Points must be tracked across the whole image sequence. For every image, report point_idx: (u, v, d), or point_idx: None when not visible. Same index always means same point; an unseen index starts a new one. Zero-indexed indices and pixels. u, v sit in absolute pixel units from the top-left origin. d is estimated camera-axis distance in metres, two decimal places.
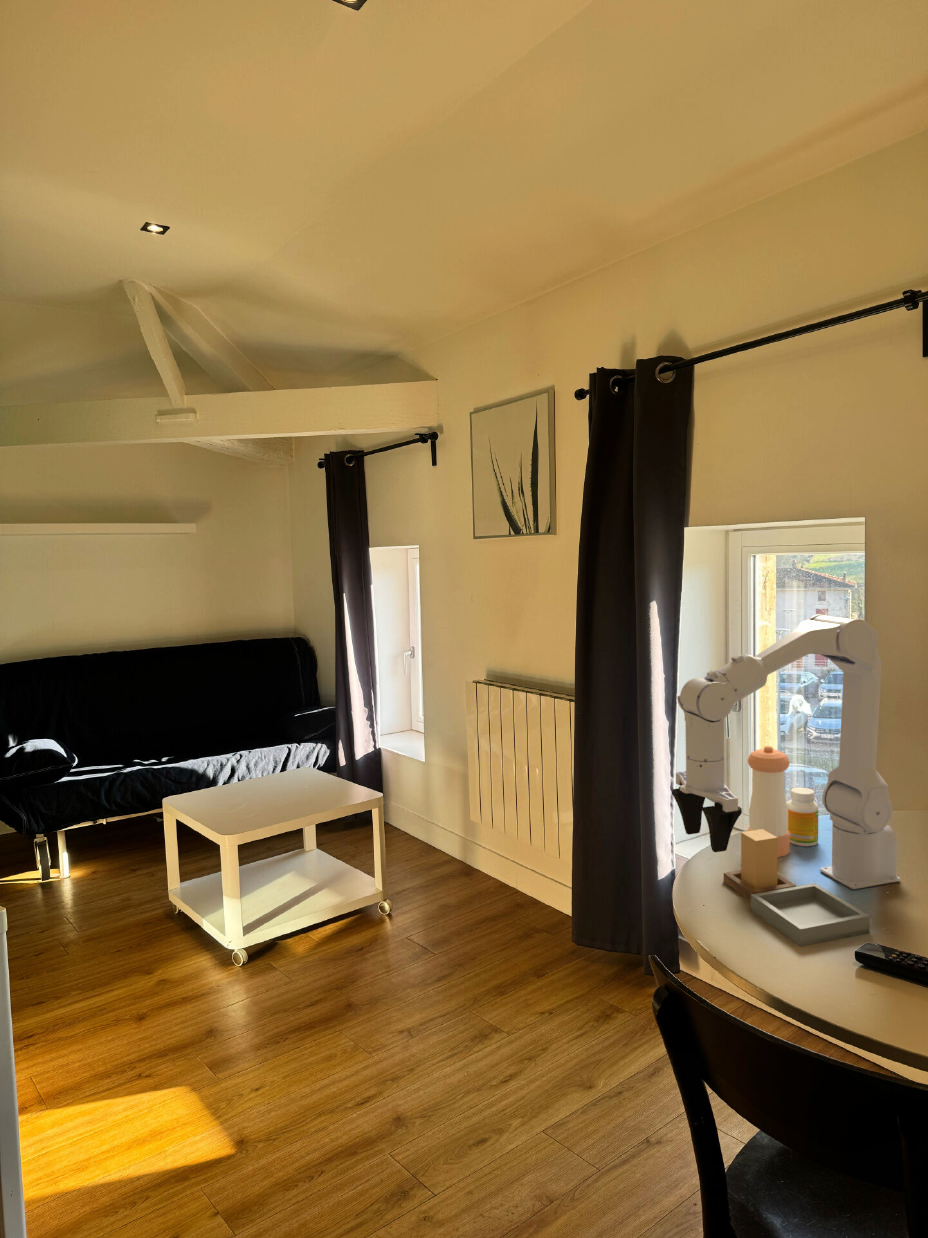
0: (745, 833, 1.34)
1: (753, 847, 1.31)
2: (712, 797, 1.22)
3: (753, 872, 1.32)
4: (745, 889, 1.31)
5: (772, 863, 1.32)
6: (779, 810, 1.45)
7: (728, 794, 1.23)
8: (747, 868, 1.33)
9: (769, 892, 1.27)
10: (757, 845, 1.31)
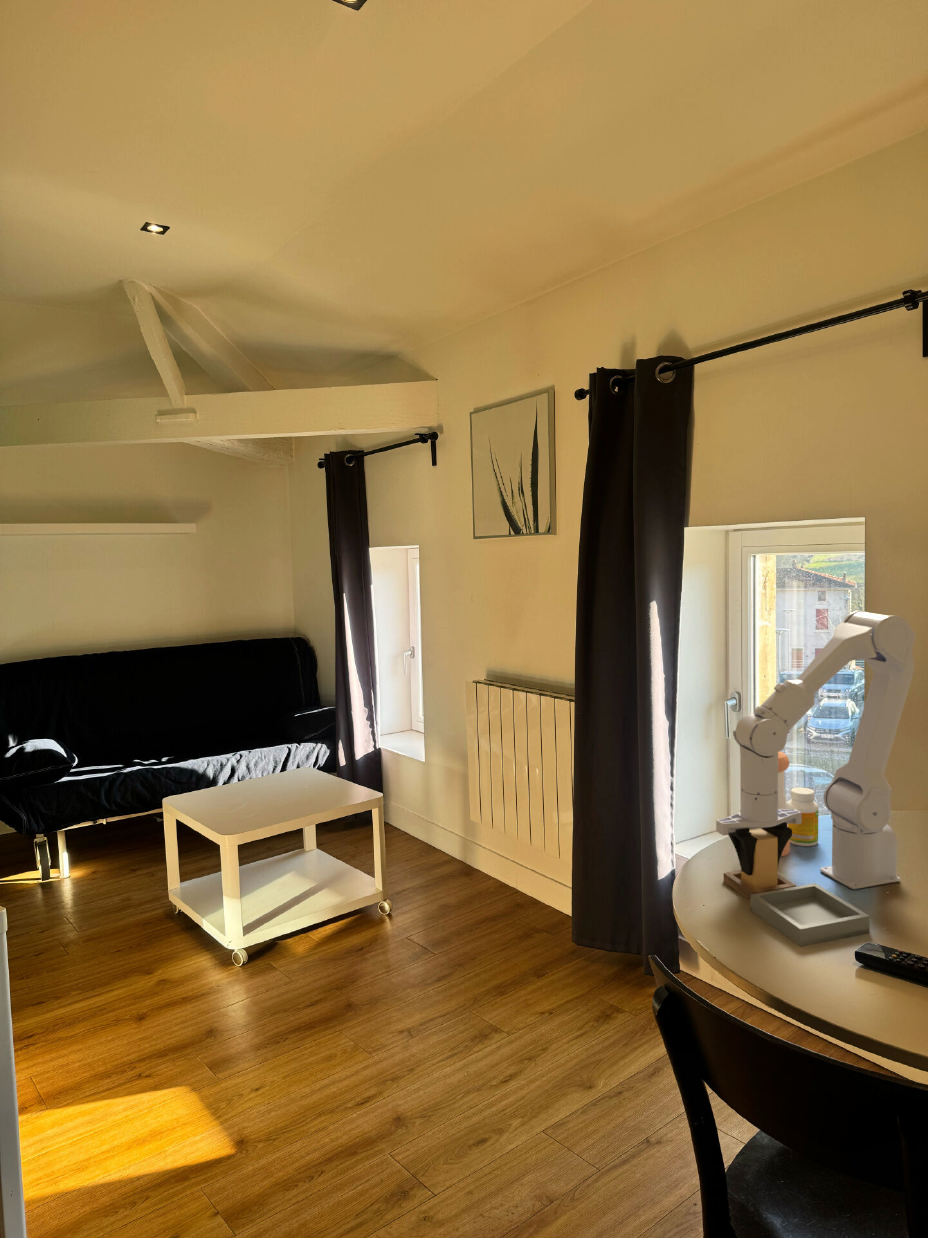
0: None
1: None
2: None
3: (753, 872, 1.32)
4: (745, 889, 1.31)
5: (772, 863, 1.32)
6: None
7: None
8: None
9: (769, 892, 1.27)
10: (757, 845, 1.31)
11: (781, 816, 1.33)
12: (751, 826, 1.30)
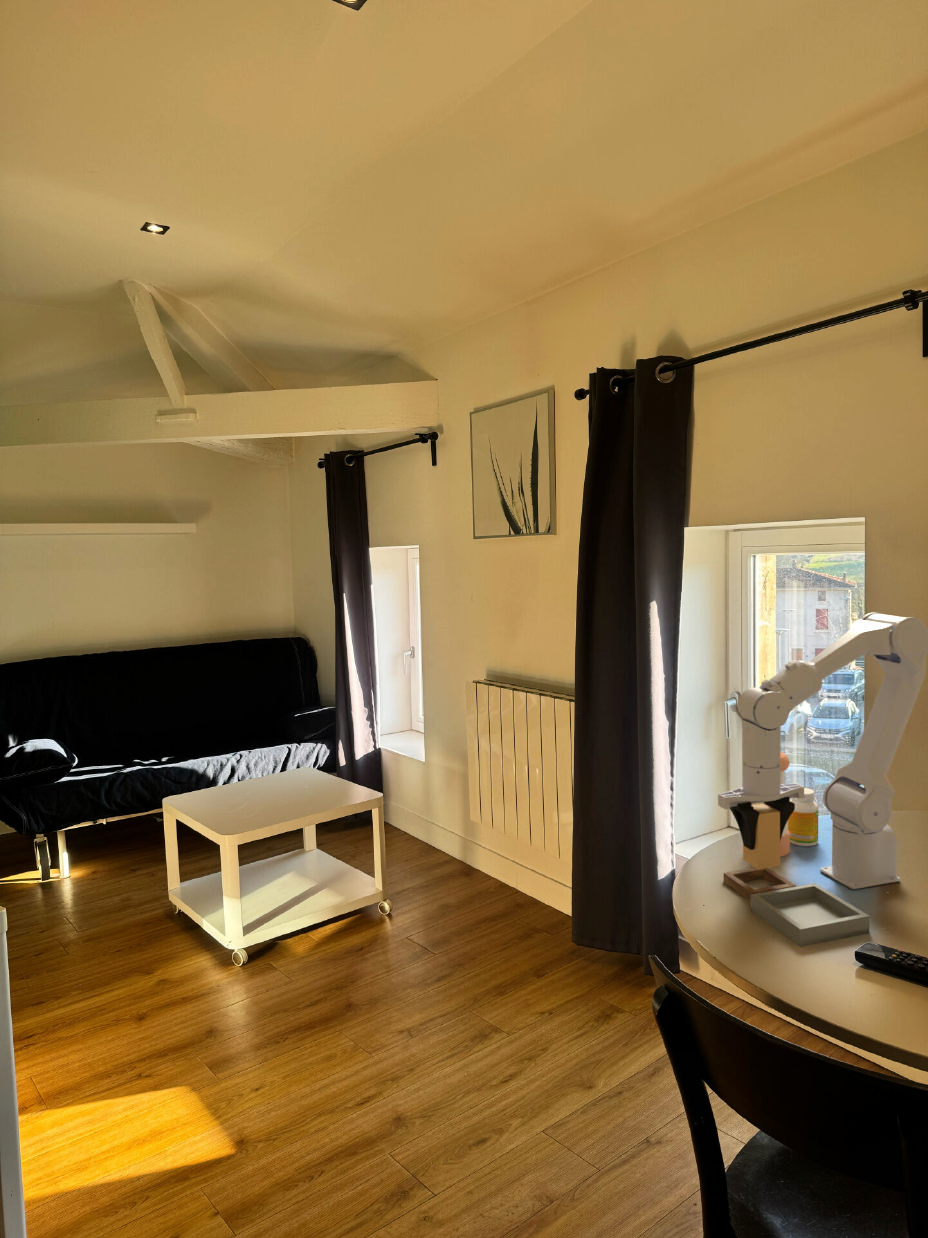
0: None
1: None
2: None
3: (755, 846, 1.30)
4: (745, 889, 1.31)
5: (774, 837, 1.31)
6: None
7: None
8: None
9: (769, 892, 1.27)
10: (759, 819, 1.29)
11: (784, 790, 1.32)
12: (753, 800, 1.29)
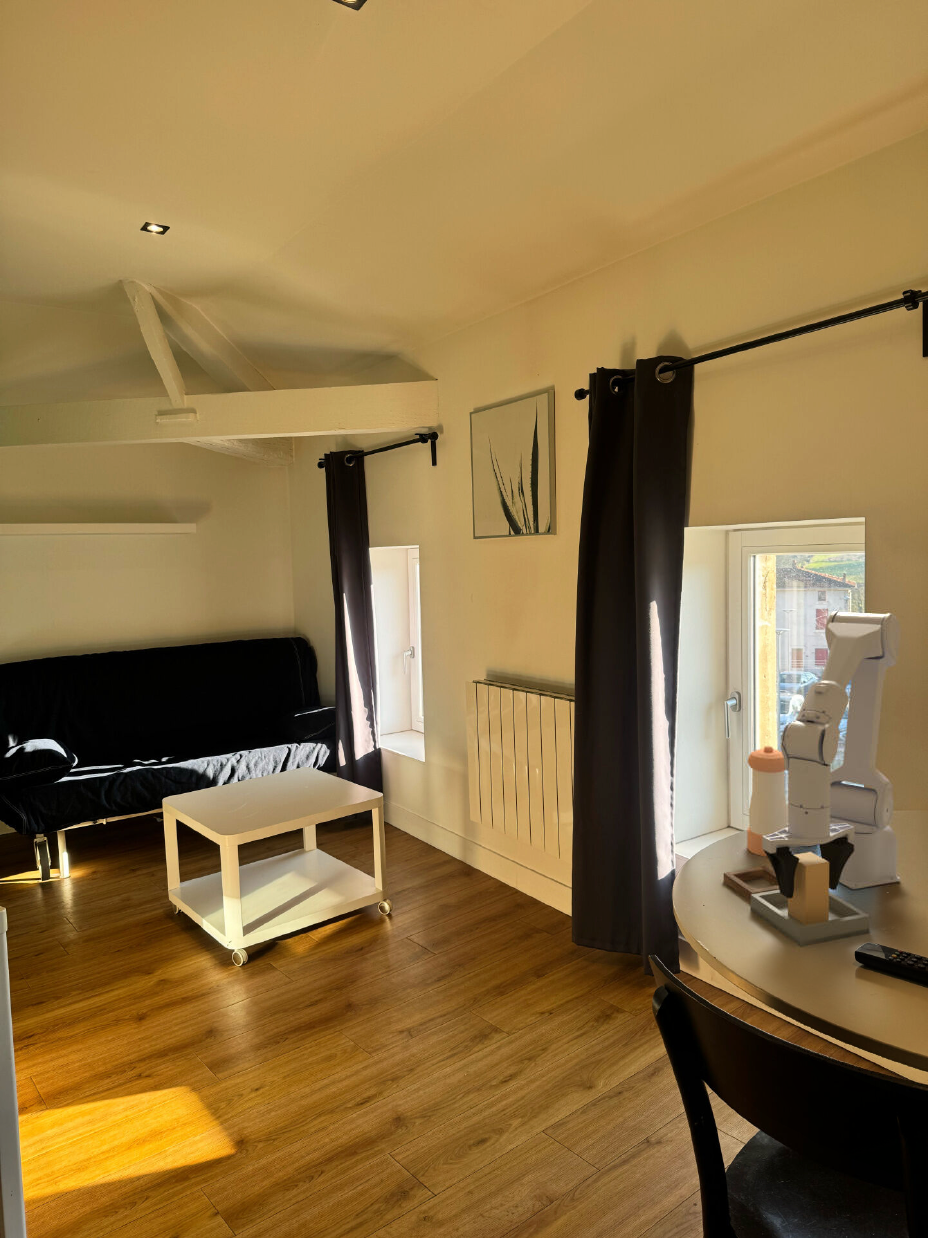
0: None
1: (803, 872, 1.20)
2: None
3: (802, 900, 1.20)
4: (745, 889, 1.31)
5: (823, 890, 1.20)
6: (779, 810, 1.45)
7: None
8: (795, 895, 1.22)
9: (769, 892, 1.27)
10: (807, 871, 1.19)
11: (832, 831, 1.21)
12: (801, 843, 1.18)
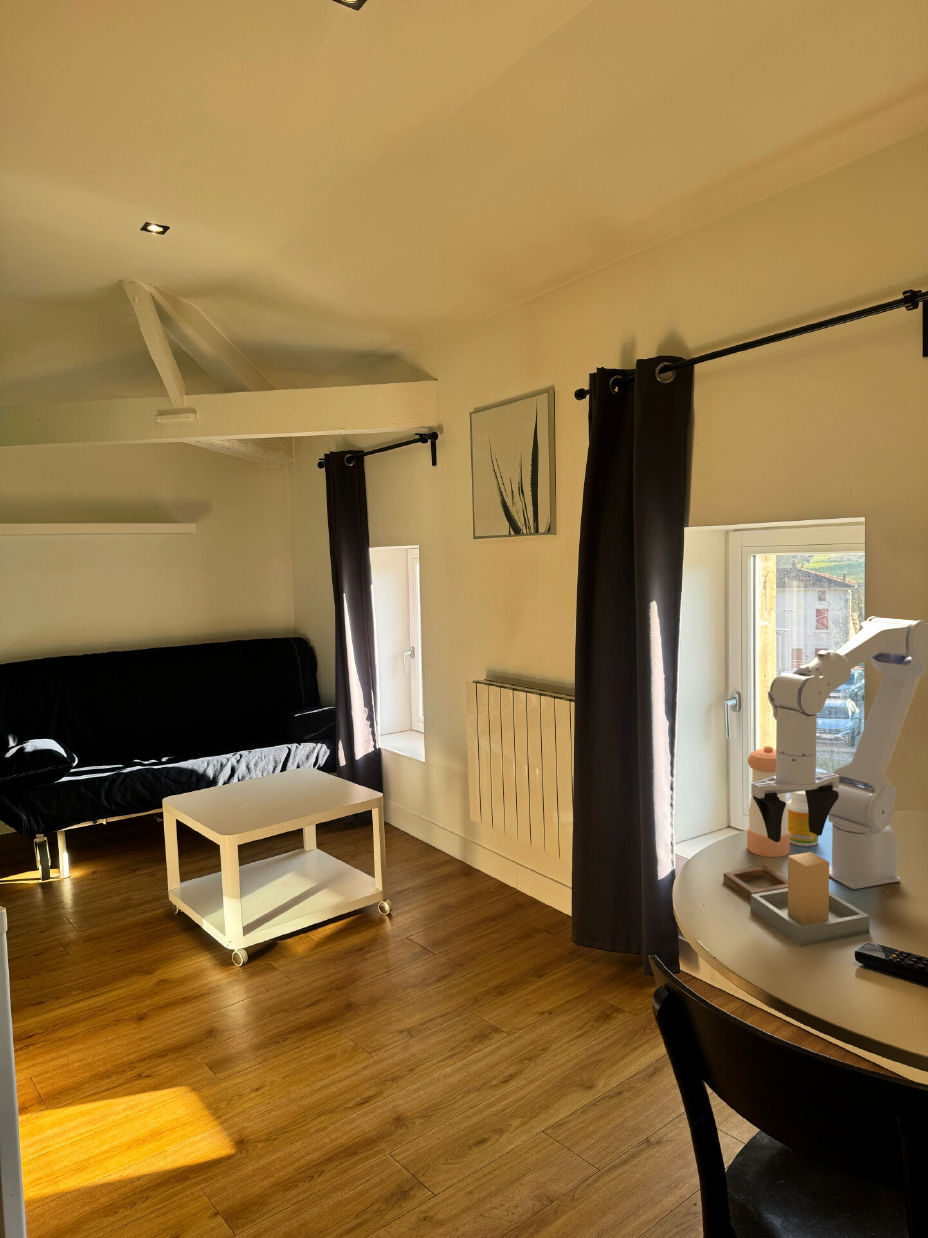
0: (793, 857, 1.22)
1: (803, 872, 1.20)
2: None
3: (802, 900, 1.20)
4: (745, 889, 1.31)
5: (823, 890, 1.20)
6: None
7: None
8: (795, 895, 1.22)
9: (769, 892, 1.27)
10: (807, 871, 1.19)
11: (818, 779, 1.28)
12: (788, 788, 1.24)
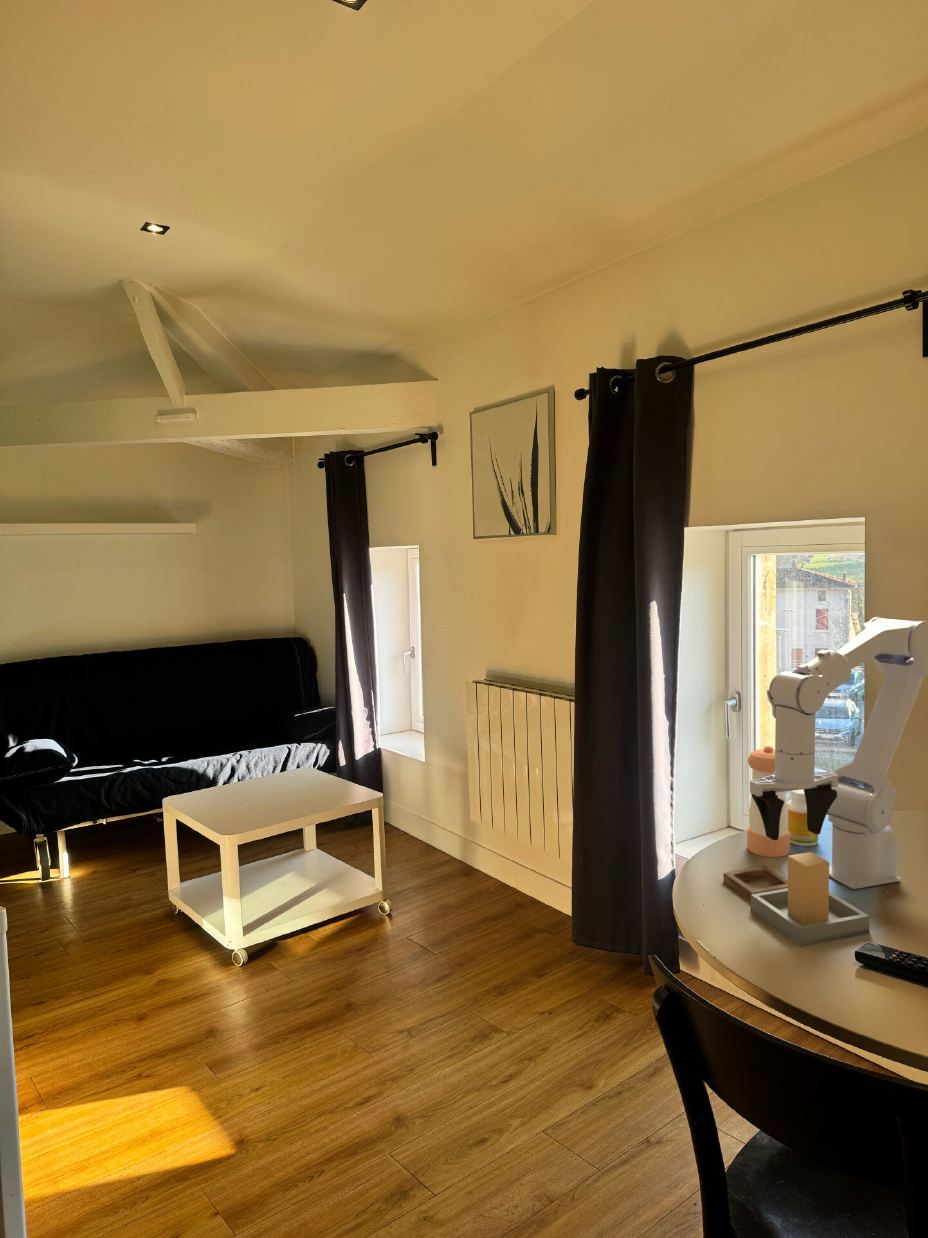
0: (793, 857, 1.22)
1: (803, 872, 1.20)
2: (762, 780, 1.28)
3: (802, 900, 1.20)
4: (745, 889, 1.31)
5: (823, 890, 1.20)
6: None
7: None
8: (795, 895, 1.22)
9: (769, 892, 1.27)
10: (807, 871, 1.19)
11: (817, 778, 1.28)
12: (787, 787, 1.25)
